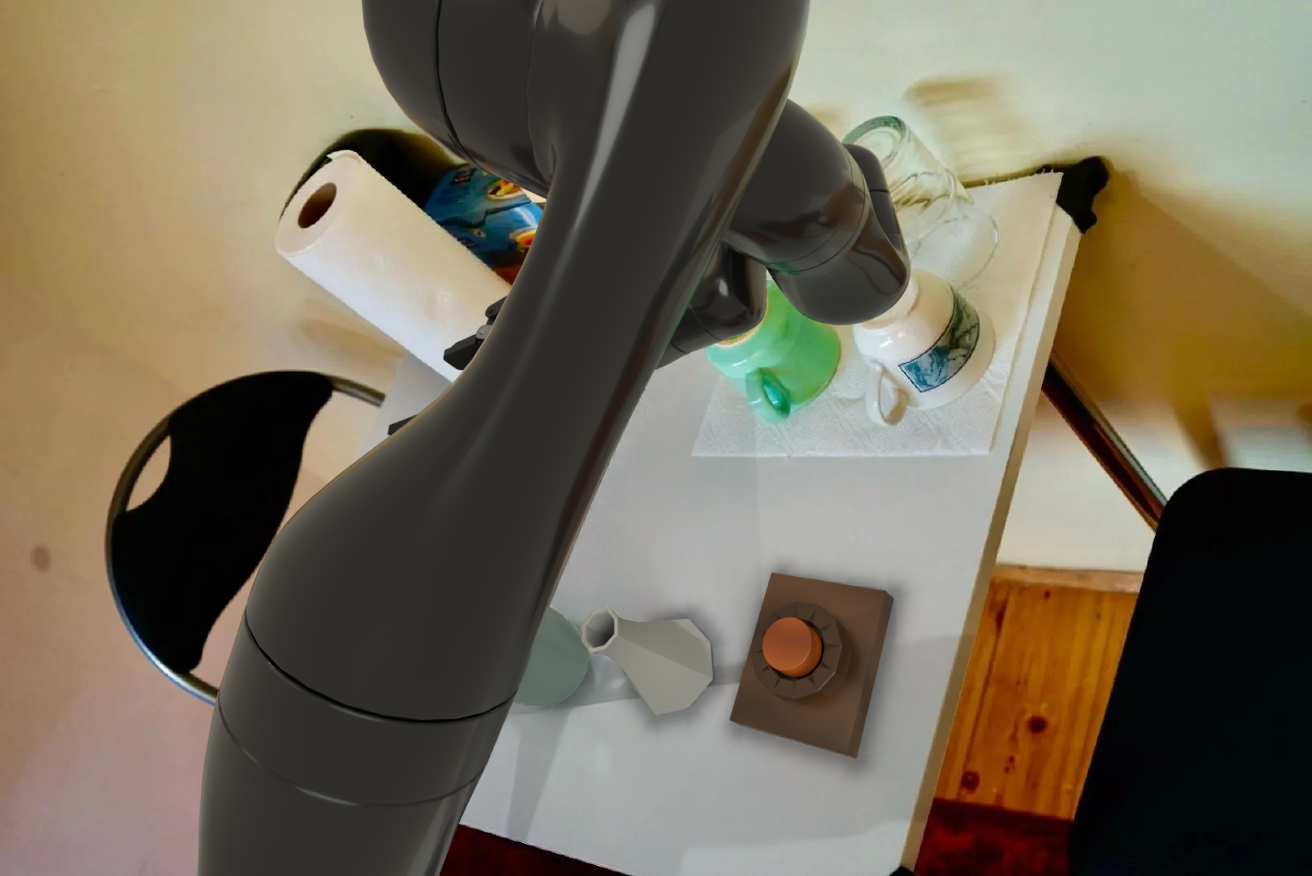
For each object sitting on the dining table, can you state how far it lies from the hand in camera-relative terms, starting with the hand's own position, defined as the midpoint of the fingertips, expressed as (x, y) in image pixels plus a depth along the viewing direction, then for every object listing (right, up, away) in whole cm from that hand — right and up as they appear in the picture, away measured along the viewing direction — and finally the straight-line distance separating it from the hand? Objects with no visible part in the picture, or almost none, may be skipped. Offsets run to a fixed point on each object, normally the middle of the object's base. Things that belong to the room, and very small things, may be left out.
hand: (445, 396), depth 70 cm
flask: (+18, -21, -1) cm, 28 cm away
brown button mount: (+28, -19, -7) cm, 34 cm away
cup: (+9, -23, +5) cm, 25 cm away
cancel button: (+26, -18, -10) cm, 33 cm away
